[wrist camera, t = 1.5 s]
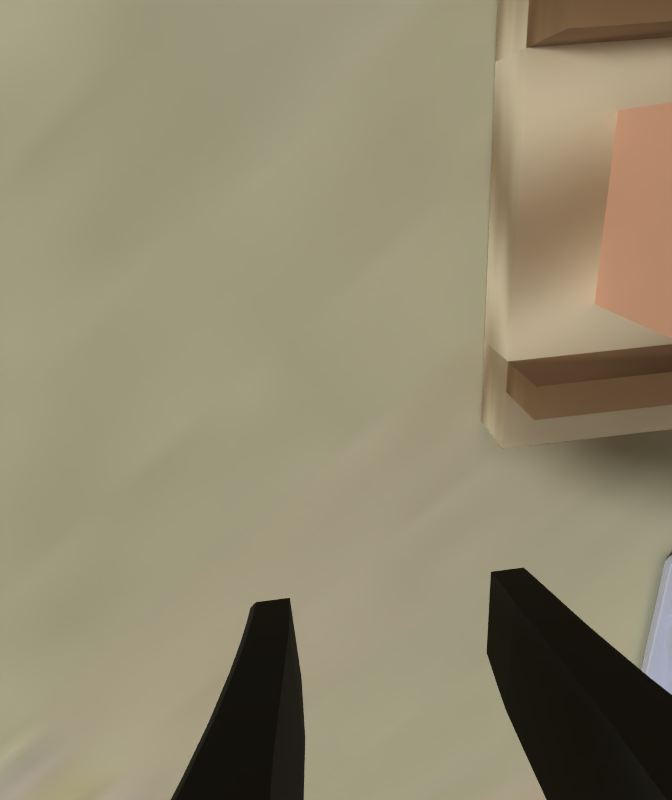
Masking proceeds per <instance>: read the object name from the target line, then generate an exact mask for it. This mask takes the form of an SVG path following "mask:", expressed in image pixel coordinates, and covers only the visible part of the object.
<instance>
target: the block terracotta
mask: <svg viewBox="0 0 672 800" xmlns="http://www.w3.org/2000/svg"><path fill="white" fill-rule="evenodd" d="M594 304H595V305H597V306H599V307H602V308H604V309H606V310H608V311H611V312H613V313H615V314H617V315H620V316H622V317H624V318H626V319H628V320H631V321H633V322H635V323H637V324H640V325H642V326H644V327H646V328H648V329H651V330H653V331H655V332H657V333H660V334H662V335H664V336H666V337H669V338H671V339H672V102H669V103H662V104H656V105H649V106H643V107H636V108H630V109H623V110H618V114H617V123H616V131H615V139H614V147H613V155H612V164H611V172H610V180H609V188H608V196H607V204H606V213H605V221H604V229H603V237H602V245H601V254H600V262H599V270H598V278H597V286H596V294H595V303H594Z"/></svg>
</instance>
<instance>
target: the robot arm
mask: <svg viewBox="0 0 672 800" xmlns="http://www.w3.org/2000/svg"><path fill="white" fill-rule="evenodd" d="M487 655H488V658H489V661H490V664H491V667H492V670H493V673H494V676H495V679H496V682H497V685H498V688H499V691H500V694H501V697H502V700H503V703H504V706H505V709H506V711H507V713H508V716H509V718H510V720H511V722H512V725H513V727H514V729H515V731H516V733H517V736H518V738H519V740H520V742H521V745H522V747H523V749H524V751H525V753H526V756H527V758H528V760H529V762H530V764H531V767H532V769H533V771H534V773H535V775H536V777H537V780H538V782H539V784H540V786H541V788H542V790H543V793H544V795H545V797H546V799H547V800H672V555H671V556H669V557H668V558H667V560H666V562H665V564H664V569H663V574H662V578H661V583H660V587H659V592H658V596H657V601H656V605H655V610H654V614H653V619H652V623H651V628H650V633H649V637H648V642H647V646H646V651H645V655H644V660H643V664H642V669H641V670H640V669H639V668H637V667H636V666H635V665H634V664H633V663H631V662H630V661H629V660H628V659H627V658H626V657H624V656H623V655H622V654H621V653H620V652H618V651H617V650H616V649H615V648H614V647H612V646H611V645H610V644H609V643H608V642H607V641H605V640H604V639H603V638H602V637H601V636H599V635H598V634H597V633H596V632H595V631H594V630H593V629H591V628H590V627H589V626H588V625H587V624H586V623H585V622H583V621H582V620H581V619H580V618H579V617H578V616H577V615H576V614H574V613H573V612H572V611H571V610H570V609H569V608H568V607H567V606H566V605H564V604H563V603H562V602H561V601H560V600H559V599H558V598H557V597H556V596H555V595H553V594H552V593H551V592H550V591H549V590H548V589H547V588H546V587H545V586H544V585H542V584H541V583H540V582H539V581H538V580H537V579H536V578H535V577H534V576H532V575H531V574H530V573H529V572H528V571H527V570H526V569H524V568H518V569H510V570H502V571H494V572H491V584H490V602H489V621H488V639H487ZM304 761H305V729H304V713H303V697H302V681H301V672H300V666H299V659H298V652H297V645H296V638H295V631H294V624H293V617H292V610H291V604H290V598H286V599H278V600H270V601H263V602H256V603H255V604H254V605H253V606H252V607H251V608H250V612H249V616H248V620H247V624H246V627H245V630H244V633H243V637H242V640H241V643H240V645H239V648H238V651H237V654H236V657H235V659H234V662H233V665H232V667H231V670H230V673H229V675H228V678H227V680H226V682H225V685H224V687H223V690H222V692H221V695H220V697H219V699H218V702H217V704H216V707H215V709H214V711H213V714H212V716H211V718H210V721H209V723H208V725H207V727H206V729H205V731H204V733H203V736H202V738H201V740H200V742H199V744H198V746H197V748H196V750H195V752H194V754H193V756H192V759H191V761H190V763H189V765H188V767H187V769H186V771H185V773H184V775H183V777H182V779H181V781H180V783H179V785H178V787H177V789H176V791H175V793H174V795H173V797H172V798H171V800H303V799H304Z"/></svg>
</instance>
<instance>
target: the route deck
mask: <svg viewBox="0 0 672 800" xmlns="http://www.w3.org/2000/svg"><path fill="white" fill-rule="evenodd" d="M669 102H672V0H498V12H497V38H496V63H495V89H494V115H493V140H492V166H491V192H490V217H489V243H488V269H487V295H486V320H485V346H484V372H483V397H482V423H483V424H484V425H485V427H486V428H487V429H488V431H489V432H490V433H491V434H492V436H493V437H494V438H495V440H496V441H497V442H498V443H499V445H500V446H501V447H502V448H503V449H506V448H514V447H523V446H531V445H540V444H549V443H557V442H566V441H575V440H583V439H592V438H600V437H609V436H618V435H626V434H635V433H643V432H652V431H661V430H669V429H672V339H671V338H669V337H666V336H664V335H662V334H660V333H657V332H655V331H653V330H651V329H648V328H646V327H644V326H642V325H640V324H637V323H635V322H633V321H631V320H628V319H626V318H624V317H622V316H620V315H617V314H615V313H613V312H611V311H608V310H606V309H604V308H602V307H599V306H597V305H595V304H594V303H595V294H596V286H597V278H598V270H599V262H600V254H601V245H602V237H603V229H604V221H605V213H606V204H607V196H608V188H609V180H610V172H611V164H612V155H613V147H614V139H615V131H616V123H617V114H618V110H623V109H630V108H636V107H643V106H649V105H656V104H662V103H669Z"/></svg>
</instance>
